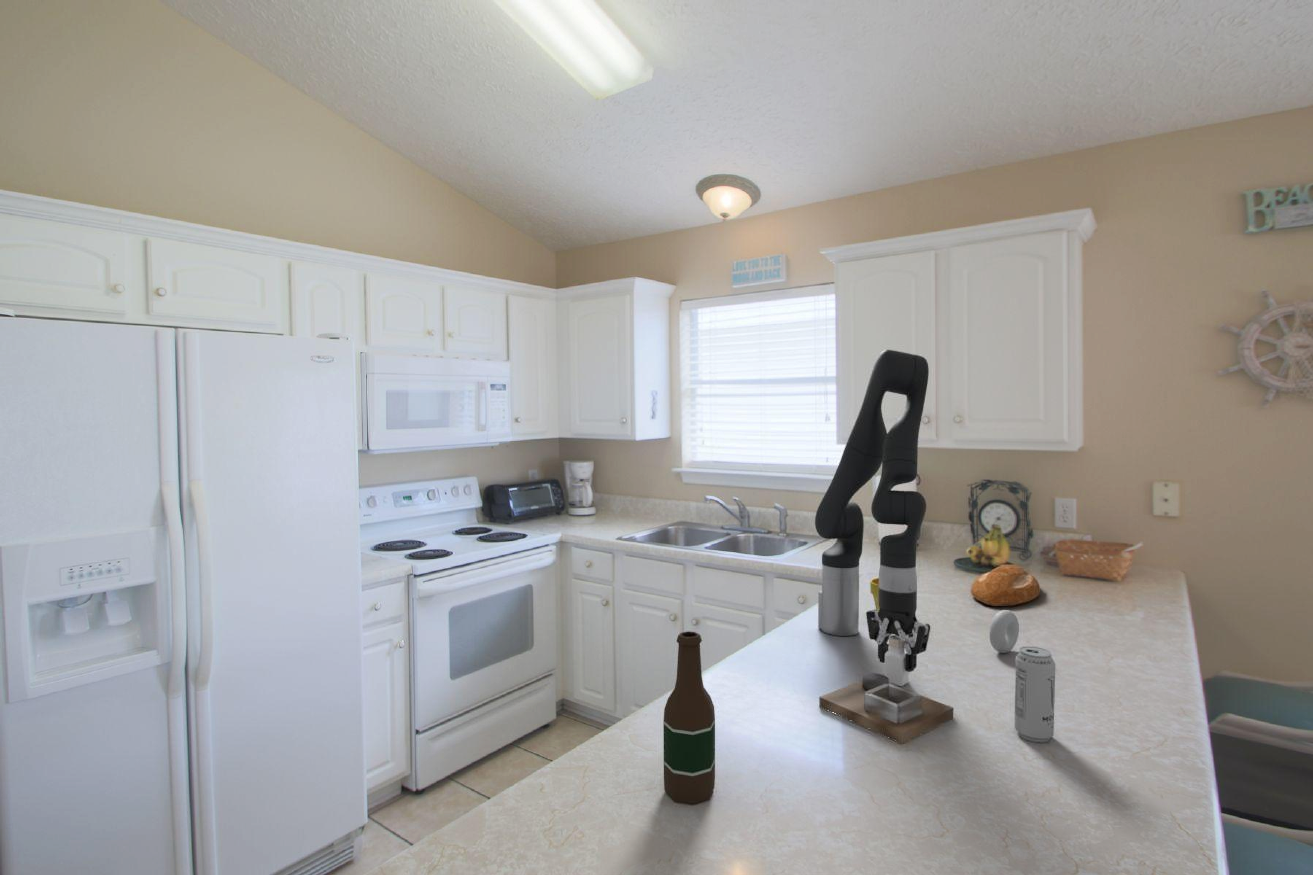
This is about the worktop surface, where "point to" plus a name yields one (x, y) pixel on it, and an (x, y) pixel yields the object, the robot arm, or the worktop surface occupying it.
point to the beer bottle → (689, 729)
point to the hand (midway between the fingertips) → (896, 665)
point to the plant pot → (875, 591)
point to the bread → (1005, 586)
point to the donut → (1004, 631)
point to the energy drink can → (1034, 694)
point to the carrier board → (886, 708)
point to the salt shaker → (896, 662)
